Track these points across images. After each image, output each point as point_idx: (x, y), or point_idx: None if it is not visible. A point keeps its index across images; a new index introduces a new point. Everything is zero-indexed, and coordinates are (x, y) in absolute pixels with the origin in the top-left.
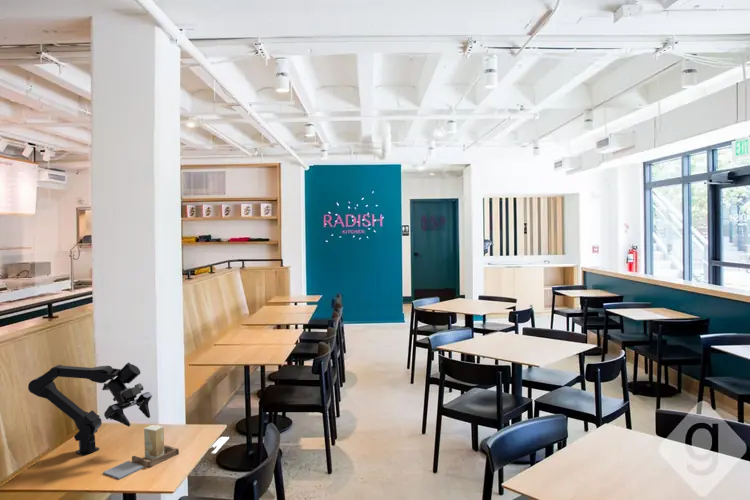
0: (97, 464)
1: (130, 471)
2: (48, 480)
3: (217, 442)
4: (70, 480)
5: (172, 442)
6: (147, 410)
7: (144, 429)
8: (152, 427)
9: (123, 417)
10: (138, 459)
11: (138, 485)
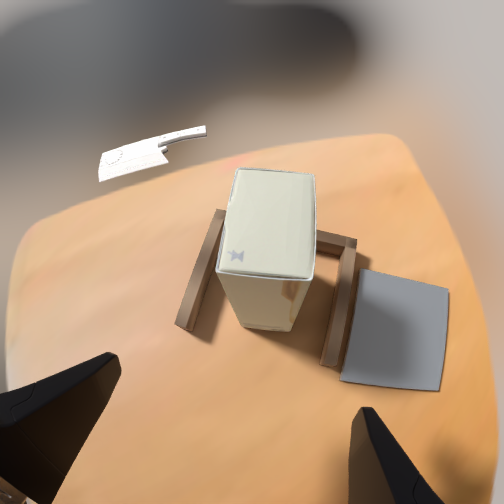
0: None
1: (408, 287)
2: (476, 495)
3: (135, 155)
4: (478, 442)
5: (121, 316)
6: (62, 385)
7: (312, 278)
8: (277, 222)
9: (427, 483)
10: (346, 314)
11: (436, 207)
